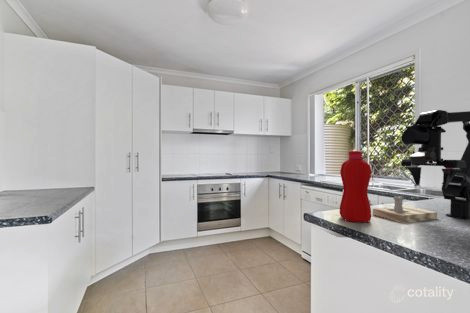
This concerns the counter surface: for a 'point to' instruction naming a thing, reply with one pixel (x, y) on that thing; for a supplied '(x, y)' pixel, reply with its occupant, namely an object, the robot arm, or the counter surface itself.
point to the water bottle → (355, 189)
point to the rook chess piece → (398, 204)
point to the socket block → (405, 214)
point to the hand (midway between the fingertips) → (430, 186)
